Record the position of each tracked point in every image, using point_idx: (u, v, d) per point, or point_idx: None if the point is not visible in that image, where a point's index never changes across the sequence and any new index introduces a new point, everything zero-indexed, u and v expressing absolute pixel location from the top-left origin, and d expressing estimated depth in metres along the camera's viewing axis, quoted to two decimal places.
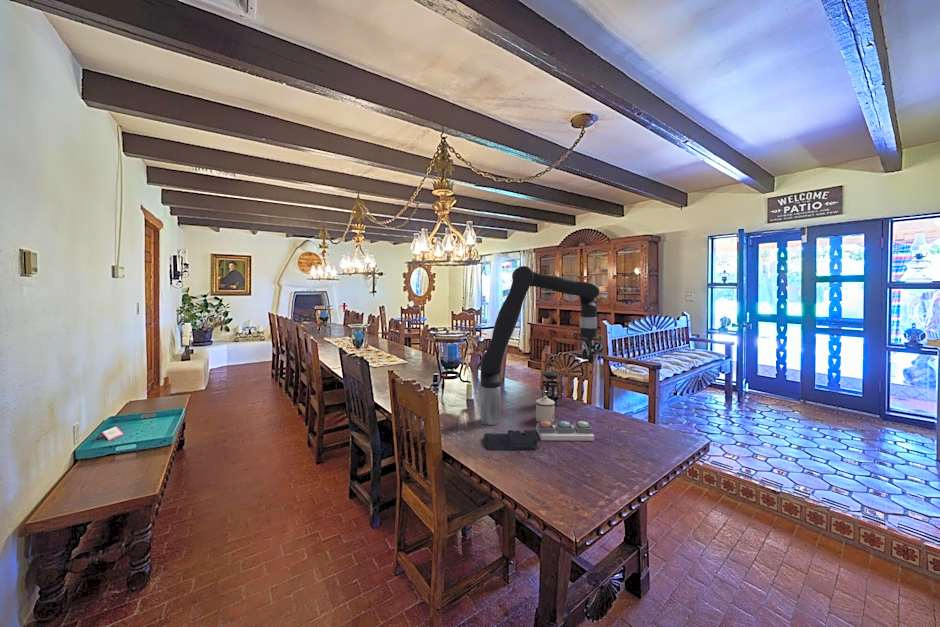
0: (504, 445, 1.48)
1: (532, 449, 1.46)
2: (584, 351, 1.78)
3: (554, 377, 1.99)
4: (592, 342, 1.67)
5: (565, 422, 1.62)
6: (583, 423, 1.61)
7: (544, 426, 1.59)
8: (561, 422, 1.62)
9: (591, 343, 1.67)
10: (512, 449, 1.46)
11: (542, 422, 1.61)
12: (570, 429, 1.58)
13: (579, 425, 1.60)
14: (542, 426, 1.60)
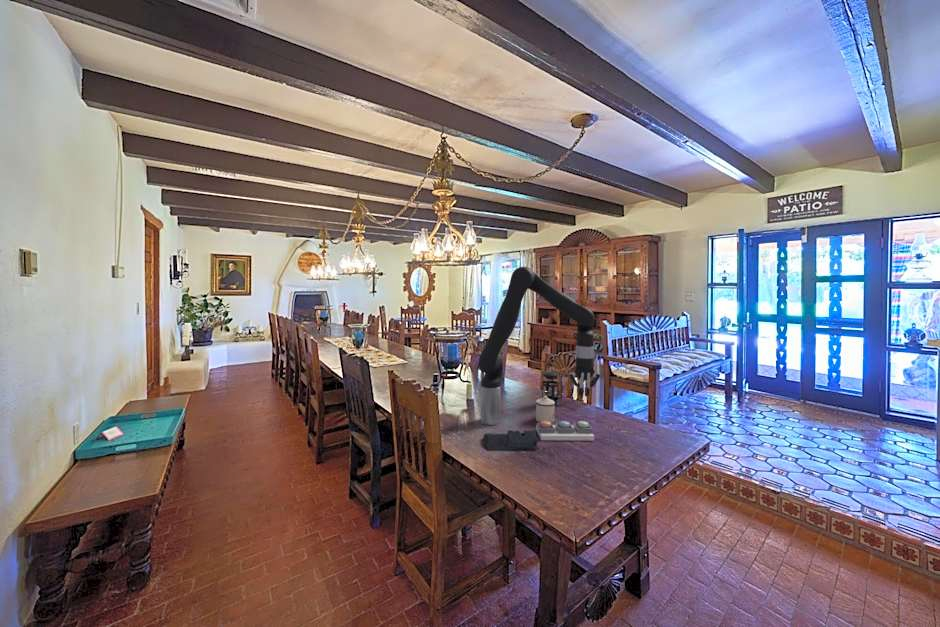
0: (504, 445, 1.48)
1: (532, 449, 1.46)
2: None
3: (554, 377, 1.99)
4: None
5: (565, 422, 1.62)
6: (583, 423, 1.61)
7: (544, 426, 1.59)
8: (561, 422, 1.62)
9: None
10: (512, 449, 1.46)
11: (542, 422, 1.61)
12: (570, 429, 1.58)
13: (579, 425, 1.60)
14: (542, 426, 1.60)
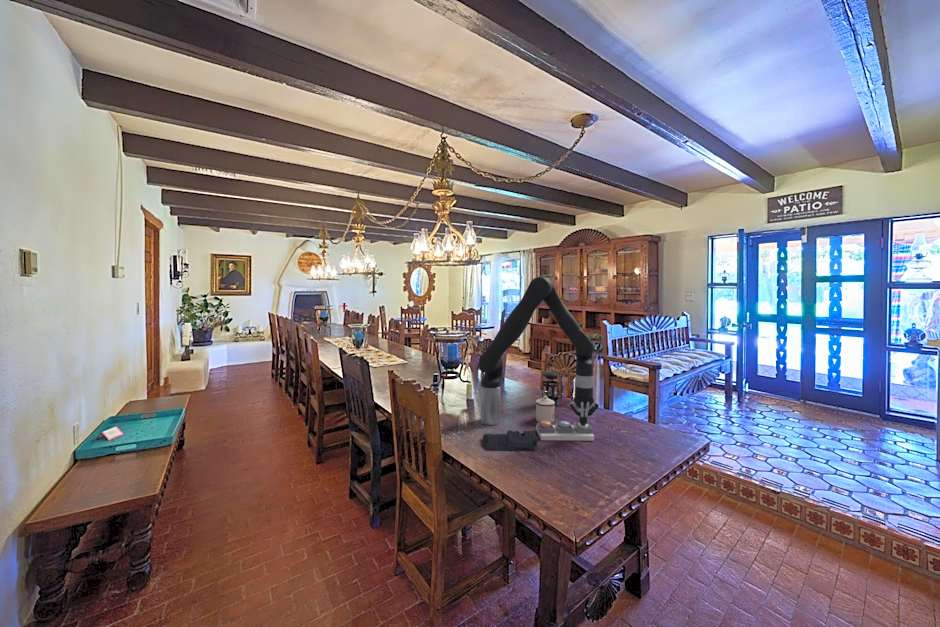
0: (503, 445, 1.47)
1: (531, 450, 1.46)
2: None
3: (554, 377, 1.99)
4: None
5: (565, 422, 1.62)
6: (583, 425, 1.61)
7: (544, 426, 1.59)
8: (561, 422, 1.62)
9: None
10: (511, 449, 1.46)
11: (542, 422, 1.61)
12: (570, 429, 1.58)
13: (579, 427, 1.60)
14: (542, 426, 1.60)
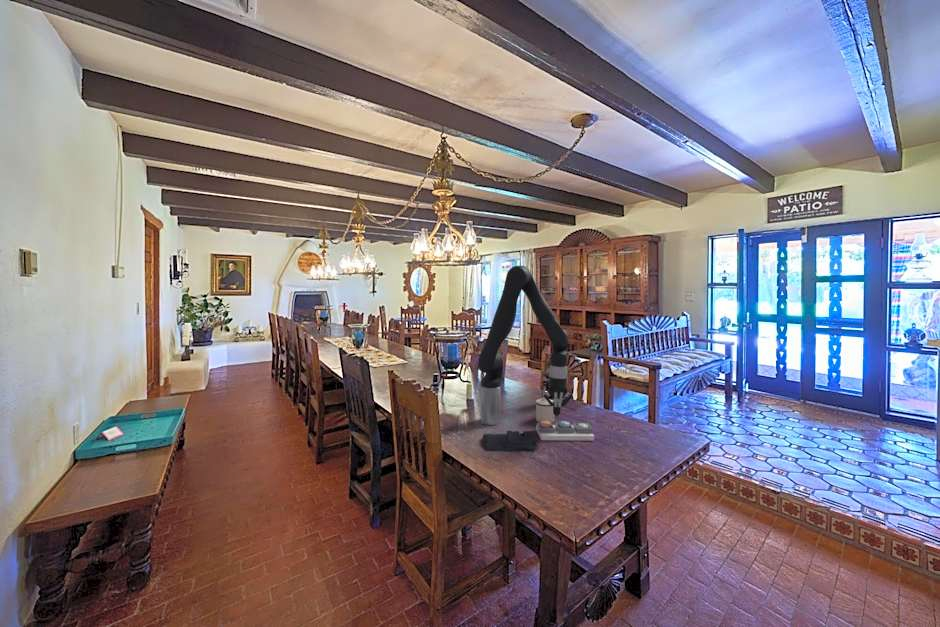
0: (503, 446, 1.47)
1: (531, 450, 1.45)
2: None
3: None
4: None
5: (565, 422, 1.62)
6: (583, 425, 1.61)
7: (544, 426, 1.59)
8: (561, 422, 1.62)
9: None
10: (511, 450, 1.45)
11: (542, 422, 1.61)
12: (570, 429, 1.58)
13: (579, 427, 1.60)
14: (542, 426, 1.60)
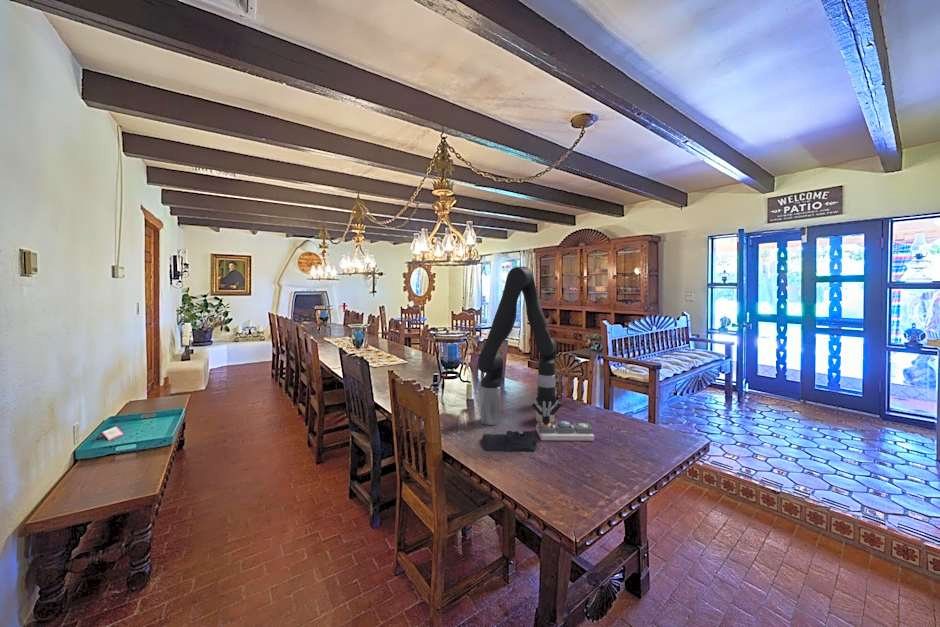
0: (502, 446, 1.47)
1: (530, 450, 1.45)
2: None
3: None
4: None
5: (565, 422, 1.62)
6: (583, 425, 1.61)
7: (544, 427, 1.59)
8: (561, 422, 1.62)
9: None
10: (510, 450, 1.45)
11: (542, 423, 1.61)
12: (570, 429, 1.58)
13: (579, 427, 1.60)
14: (542, 427, 1.60)
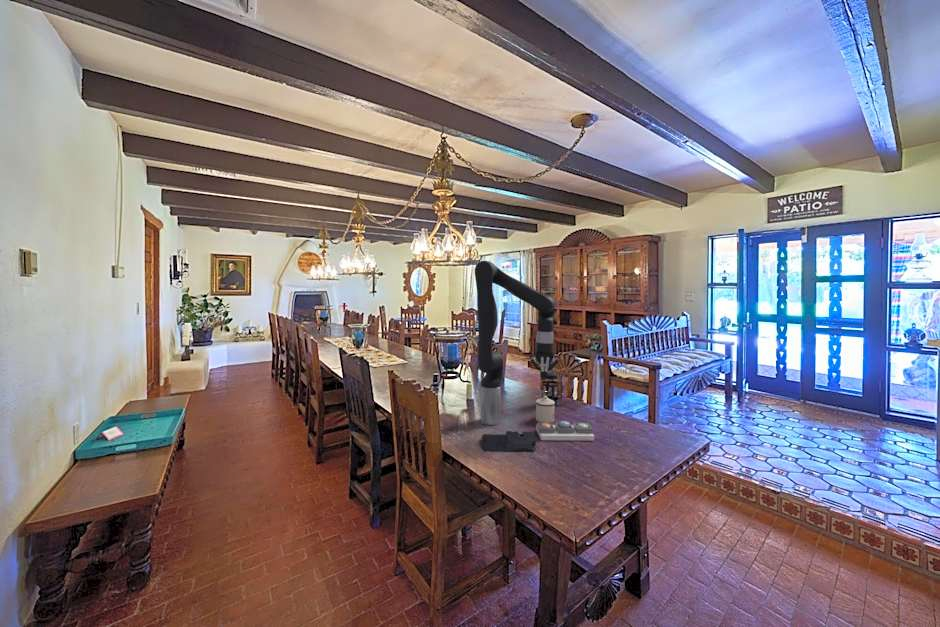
0: (502, 446, 1.47)
1: (530, 450, 1.45)
2: None
3: (554, 377, 1.99)
4: None
5: (565, 422, 1.62)
6: (583, 425, 1.61)
7: None
8: (561, 422, 1.62)
9: None
10: (510, 450, 1.45)
11: (542, 425, 1.62)
12: (570, 429, 1.58)
13: (579, 427, 1.60)
14: None
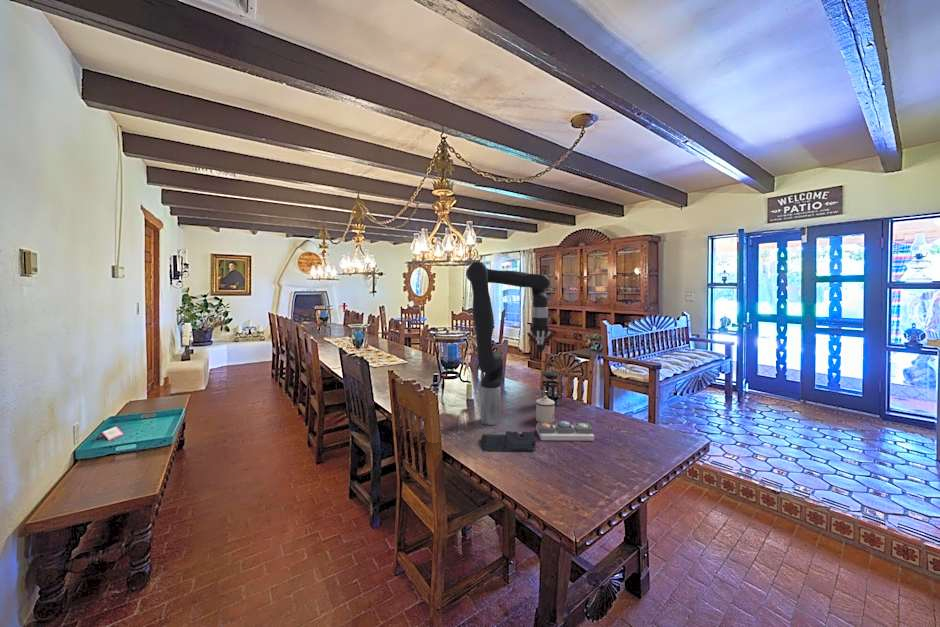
0: (501, 446, 1.47)
1: (530, 451, 1.45)
2: (539, 344, 1.82)
3: (554, 377, 1.99)
4: None
5: (565, 422, 1.62)
6: (583, 425, 1.61)
7: None
8: (561, 422, 1.62)
9: None
10: (509, 451, 1.45)
11: (542, 425, 1.62)
12: (570, 429, 1.58)
13: (579, 427, 1.60)
14: None
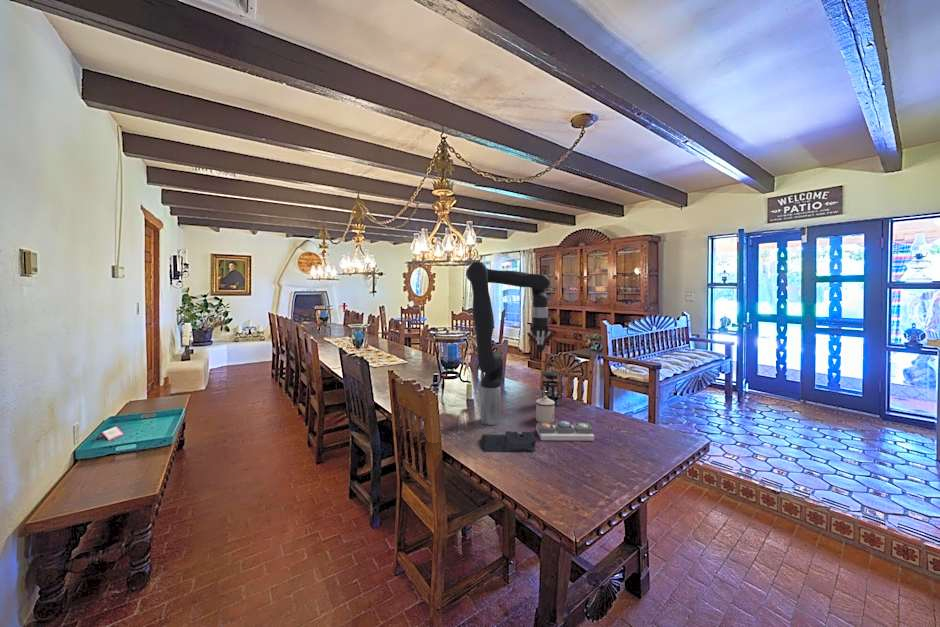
0: (501, 446, 1.47)
1: (529, 451, 1.45)
2: (539, 344, 1.82)
3: (554, 377, 1.99)
4: None
5: (565, 422, 1.62)
6: (583, 425, 1.61)
7: None
8: (561, 422, 1.62)
9: None
10: (509, 450, 1.45)
11: (542, 425, 1.62)
12: (570, 429, 1.58)
13: (579, 427, 1.60)
14: None
